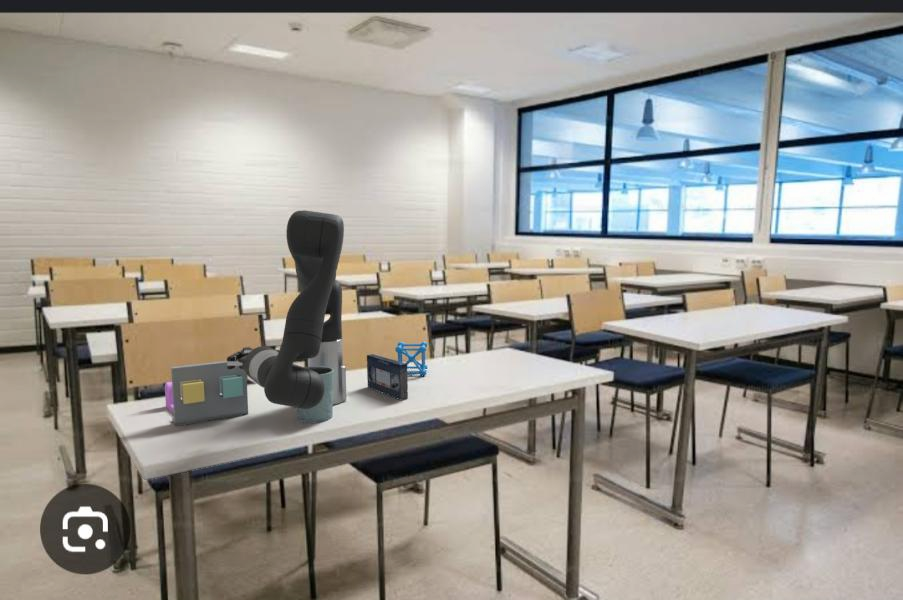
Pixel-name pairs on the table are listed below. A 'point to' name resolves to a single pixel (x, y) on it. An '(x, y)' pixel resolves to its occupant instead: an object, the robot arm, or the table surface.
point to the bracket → (169, 395)
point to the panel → (207, 393)
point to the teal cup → (325, 406)
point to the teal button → (231, 386)
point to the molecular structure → (413, 356)
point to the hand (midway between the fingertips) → (245, 351)
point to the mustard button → (192, 391)
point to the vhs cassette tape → (387, 376)
